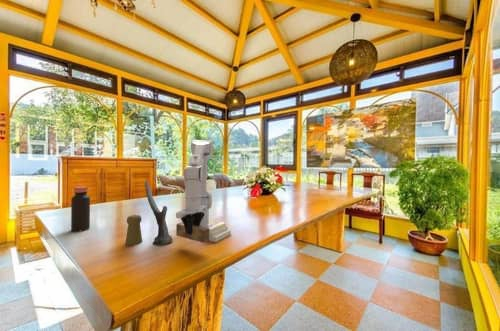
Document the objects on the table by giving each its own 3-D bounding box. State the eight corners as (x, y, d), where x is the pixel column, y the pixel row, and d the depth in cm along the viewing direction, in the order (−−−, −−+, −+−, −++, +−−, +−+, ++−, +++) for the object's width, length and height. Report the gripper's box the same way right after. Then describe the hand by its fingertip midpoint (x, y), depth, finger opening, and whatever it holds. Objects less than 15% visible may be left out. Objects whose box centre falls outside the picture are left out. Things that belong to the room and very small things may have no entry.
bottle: (67, 230, 95) (67, 187, 94) (84, 226, 101) (84, 185, 101) (76, 232, 92) (76, 188, 92) (93, 228, 98) (93, 186, 98)
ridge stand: (201, 238, 89) (201, 227, 89) (216, 231, 99) (217, 220, 99) (215, 242, 85) (216, 230, 85) (230, 234, 95) (230, 223, 95)
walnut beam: (176, 235, 81) (176, 224, 81) (182, 233, 83) (182, 222, 83) (203, 242, 74) (203, 230, 74) (209, 240, 77) (209, 228, 77)
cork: (124, 246, 79) (124, 218, 79) (125, 240, 85) (126, 214, 84) (142, 243, 82) (142, 216, 82) (142, 238, 87) (142, 213, 87)
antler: (175, 238, 88) (176, 180, 87) (168, 246, 80) (169, 182, 80) (147, 238, 88) (148, 180, 87) (138, 246, 80) (139, 182, 79)
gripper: (186, 201, 70) (185, 241, 70) (213, 195, 83) (212, 229, 83) (172, 199, 74) (171, 236, 74) (200, 194, 86) (199, 226, 87)
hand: (192, 232), depth 79 cm, fingers closed on walnut beam, 3 cm apart
